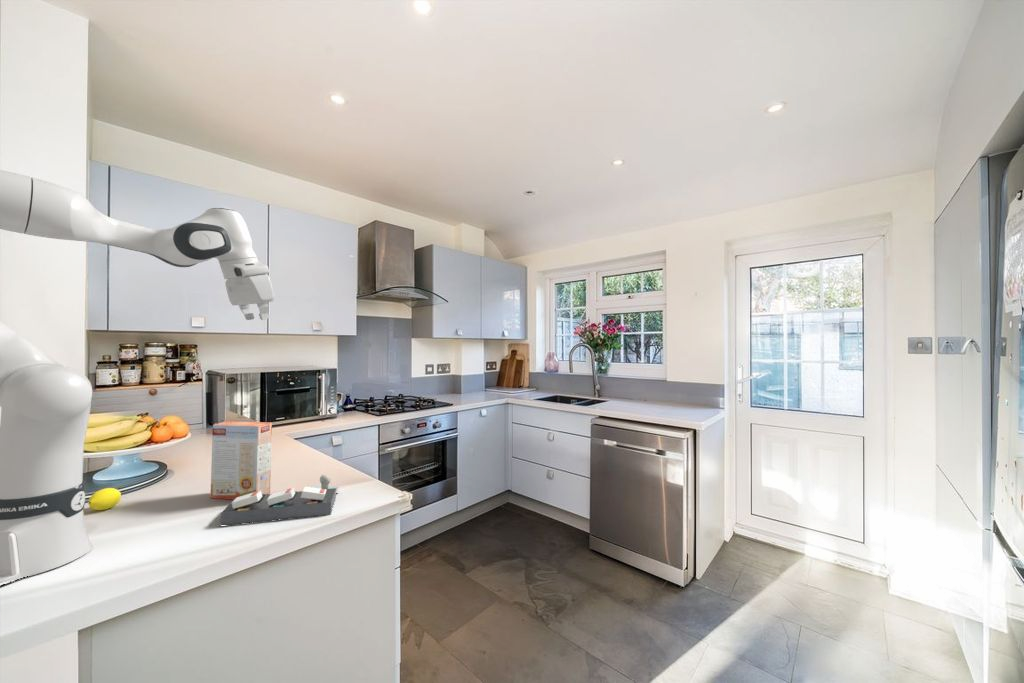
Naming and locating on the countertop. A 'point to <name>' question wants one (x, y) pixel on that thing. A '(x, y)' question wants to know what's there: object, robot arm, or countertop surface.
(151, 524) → the countertop surface
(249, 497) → the rocker
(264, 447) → the cracker box
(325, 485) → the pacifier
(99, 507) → the lemon
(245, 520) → the power strip
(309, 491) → the rocker
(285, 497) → the rocker
